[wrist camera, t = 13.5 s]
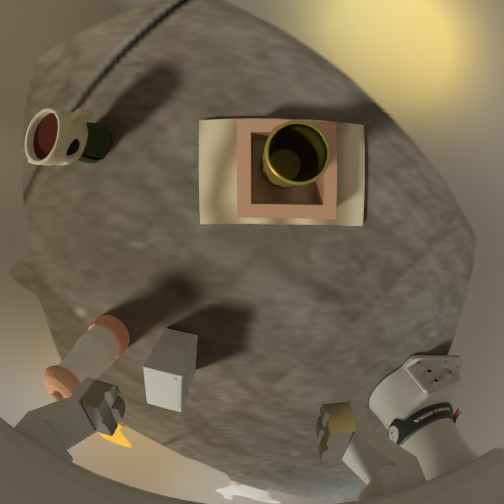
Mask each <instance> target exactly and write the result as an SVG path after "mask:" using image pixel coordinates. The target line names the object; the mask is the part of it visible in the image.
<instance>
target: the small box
mask: <svg viewBox="0 0 504 504" xmlns="http://www.w3.org/2000/svg"><path fill="white" fill-rule="evenodd" d="M197 341H198V335H195V334H190V333H186V332H181V331H176V330H172V329H168V328H166V329H165V330H164V332H163V333H162V335H161V337H160V338H159V340H158V342H157V343H156V345H155V347H154V348H153V350H152V352H151V354H150V355H149V357H148V359H147V360H146V362H145V364H144V365H143V371H144V381H145V390H146V399H147V403H149V404H152V405H156V406H159V407H163V408H167V409H170V410H174V411H178V412H182V411H183V407H184V404H185V401H186V398H187V395H188V392H189V389H190V386H191V383H192V380H193V377H194V374H195V371H196V354H197Z"/></svg>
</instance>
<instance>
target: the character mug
mask: <svg viewBox="0 0 504 504" xmlns="http://www.w3.org/2000/svg"><path fill="white" fill-rule="evenodd" d="M92 117H93V113H92V112H90V111H88V110H85V109H82V108H79V109H77V110H75V111H74V112H73V113H72V112H68V111H64V110H61V109H57V108H53V107H48V108H44V109H42V110H41V111H39V112H38V113H37V114H36V115H35V116H34V118H33V119H32V121H31V122H30V125H29V127H28V130H27V133H26V138H25V152H26V155H27V157H28V162H29V163H31V164H36V165H53V164H54V165H69V164H71V163H73V162H75V161H77V160H80V161H83V162H88V163H96V162H98V161H97V160H93V159H95V158H98V157H101V158H104V157H105V156H106V154H107V152H108V150H109V148H110V143H111V138H110V134H109V131H108V129H107V128H106V127H105V125H102V124H99V123H87V122H88V121H89V120H90V119H91V118H92Z"/></svg>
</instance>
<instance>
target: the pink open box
mask: <svg viewBox="0 0 504 504" xmlns="http://www.w3.org/2000/svg"><path fill="white" fill-rule="evenodd" d="M287 121H293V120H280V119H242V120H237V218H309V219H336V201H337V130H336V123H332V122H320V121H306V122H309V123H311V124H313V125H315V126H317V127H318V128H319V129H320V130H321V131H322V132H323V133H324V135H325V136H326V138H327V140H328V142H329V144H330V149H331V158H330V162H329V164H328V167H327V169H326V171H325V173H324V174H323V175H322V176H321V177H320V178H319V179H318V180H316V181H315V197H314V202H299V201H253V140H267V139H268V137H269V135H270V133H271V131H272V130H273V129H274V128H275V127H276V126H279V125H281V124H283V123H285V122H287ZM297 121H305V120H297Z"/></svg>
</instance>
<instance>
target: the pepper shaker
mask: <svg viewBox="0 0 504 504" xmlns="http://www.w3.org/2000/svg"><path fill="white" fill-rule="evenodd" d="M129 342H130V335H129V332H128V330H127V328H126V326H125V325H124V324H123V323H122V322H121V321H120V320H119V319H117V318H116V317H114V316H111V315H102V316H100V317H99V318H98V319H97V320H96V321H95V322H94V323H92V324H91V326H90V327H89V328H88V331H87V332H86V333H85V334H84V335H83V336H81V338H80V339H79V340H78V342H77V343H76V345H75V346H74V348H73V349H72V351H71V352H70V354H69V355H68V356H67V357H66V358H65V359H64V360H63V361H62V362H61V363H60V364H59V365H58V366H57V365H56V366H51V367H48V368H47V370H46V371H45V374H44V384H45V387H46V388H47V390H48V392H49V393H50V395H51V396H52V398H53V400H55V401H59V400H62V399H64V398H70V396H71V395H72V394H73V393H74V392H75V390H76V389H77V388H78V387H79V386H80V384H81V383H82V382H83V381H84V380H85V378H88V377H89V378H92V379H96V378H97V377H98V376H100V375H101V374H102V373H103V372H104V371H105V370H107V369H108V368H109V367H110V366H111V364H112V363H113V362H114V360H115V359H116V358H118V357H120V356H121V354H122V353H123V352H124V350H125V349H126V348H127V347H128V345H129Z"/></svg>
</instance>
